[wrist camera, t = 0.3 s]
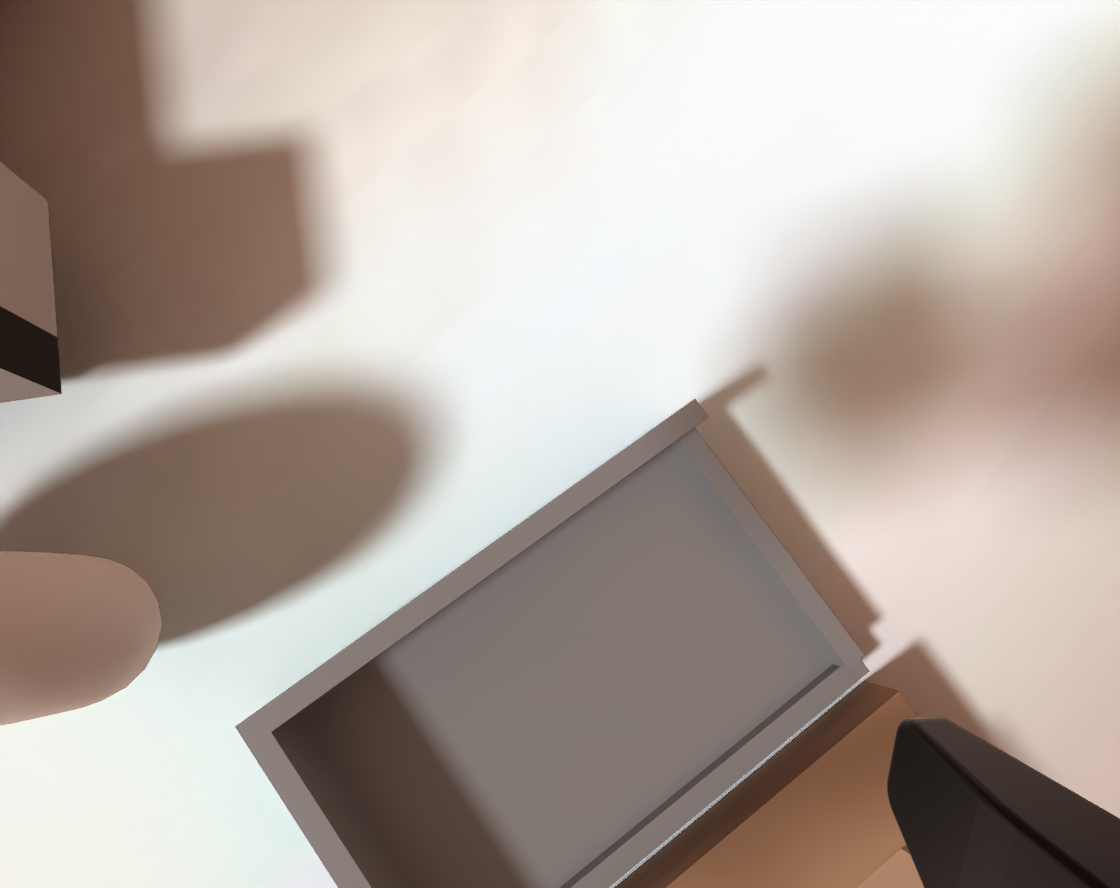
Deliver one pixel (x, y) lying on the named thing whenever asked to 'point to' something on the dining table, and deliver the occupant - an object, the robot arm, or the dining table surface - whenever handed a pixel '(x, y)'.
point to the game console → (26, 294)
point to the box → (562, 687)
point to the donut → (70, 631)
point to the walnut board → (799, 810)
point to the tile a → (895, 873)
